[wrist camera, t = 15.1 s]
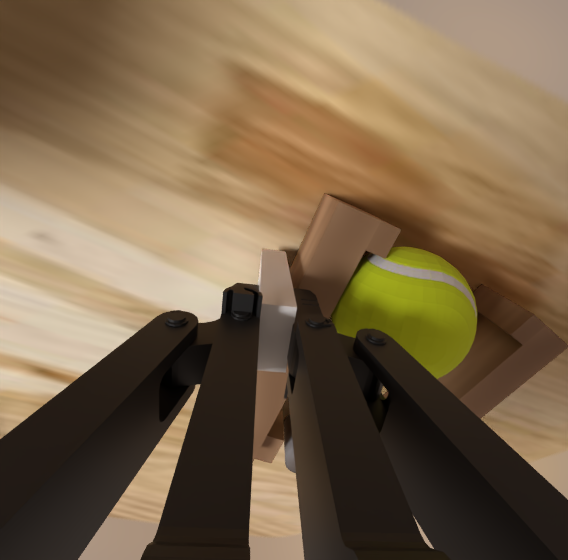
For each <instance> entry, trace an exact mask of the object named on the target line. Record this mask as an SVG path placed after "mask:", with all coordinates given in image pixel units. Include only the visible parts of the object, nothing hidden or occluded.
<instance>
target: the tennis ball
mask: <svg viewBox="0 0 568 560" xmlns="http://www.w3.org/2000/svg"><path fill="white" fill-rule="evenodd" d="M331 319H332V322H333V324H334V325H335V328H336V330H337V332H338V333H340V334H343V335H346V336H350V337H353V338H355V337H356V334H357V331H359V330H360V329H365V328H368V329H376V330H380V331H382V332H384V333H386V334H388V335H389V336H390V337H392V338H393V339H394V340H395V341H396V342H397V343H398V344H400V345H401V346H402V347H403V348H404V349H405V350H406V351H407V352H408V353H409V354H410V355H411V356H413V357H414V358H415V359H416V360H417V361H418V362H419V363H420V364H421V365H422V366H423V367H424V368H426V369H427V370H428V371H429V372H430V373H431V374H432V375H433V376H434V377H435V378H436V379H438V378H440V377H442V376H444V375H446V374H448V373H449V372H450V371H452V370H453V369H454V368H456V367H457V366H458V365H459V364H460V363H461V362H462V361H463V359H464V358H465V356H466V355H467V354H468V352H469V350H470V348H471V346H472V344H473V341H474V338H475V334H476V327H477V307H476V302H475V297H474V295H473V293H472V291H471V289H470V286H469V285H468V283H467V281H466V280H465V278H464V277H463V276H462V275H461V273H460V272H459V271H458V270H457V269H456V268H455V267H454V266H452V265H451V264H450V263H448V262H447V261H446V260H444V259H443V258H442V257H440V256H438V255H435V254H433V253H431V252H428V251H425V250H422V249H418V248H413V247H392V248H391V249H390V251H389V253H388V255H387V257H386V258H382V257H380V256H378V255H375V254H373V253H371V254H368V255H366V256H364V257H362V258H361V260H360V262H359V263H358V265H357V267H356V269H355V271H354V273H353V275H352V277H351V278H350V280H349V282H348V284H347V286H346V288H345V290H344V292H343V293H342V295H341V297H340V299H339V301H338V303H337V305H336V307H335V309H334V310H333V312H332V314H331Z"/></svg>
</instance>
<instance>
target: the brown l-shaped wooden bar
mask: <svg viewBox="0 0 568 560" xmlns="http://www.w3.org/2000/svg"><path fill="white" fill-rule="evenodd" d="M473 295H474V297H475V302H476V307H477V327H476V334H475V338H474V341H473V344H472V346H471V348H470V350H469V352H468V354H467V355H466V356H465V358H464V359H463V361H462V362H461V363H460V364H459V365H458V366H457V367H456V368H454V369H453V370H452V371H450V372H449V373H448V374H446V375H444V376H442V377H440V378H438V379H437V380H439V381H440V382H441V383H442V384H443V385H444V386H445V387H446V388H447V389H448V390H449V391H450V392H452V393H453V394H454V395H455V396H456V397H457V398H458V399H459V400H460V401H461V402H462V403H463V404H465V405H466V406H467V407H468V408H469V409H470V410H471V411H472V412H473V413H474V414H475V415H476V416H478V417H479V418H482V417H483V416H484V415H485V414H487V413H488V412H489V411H490V410H491V409H493V408H494V407H495V406H496V405H498V404H499V403H500V402H501V401H503V400H504V399H505V398H506V397H507V396H509V395H510V394H511V393H512V392H514V391H515V390H516V389H517V388H519V387H520V386H521V385H522V384H523V383H525V382H526V381H527V380H528V379H530V378H531V377H532V376H533V375H534V374H536V373H537V372H538V371H539V370H541V369H542V368H543V367H544V366H546V365H547V364H548V363H549V362H550V361H552V360H553V359H554V358H555V357H557V356H558V355H559V354H560V353H561V352H563V351H564V350H565V349H566V348H568V345H567V344H566V343H565V342H564V341H563V340H562V339H560V338H559V337H558V336H557V335H556V334H555V333H554V332H553V331H552V330H551V329H549V328H548V327H547V326H546V325H545V324H544V323H543V322H542V321H541V320H540V319H538V318H537V317H536V316H535V315H534V314H532V313H531V312H529V311H527V310H525V309H524V308H522V307H520V306H519V305H517V304H515V303H513V302H512V301H510V300H508V299H506V298H505V297H503V296H501V295H500V294H498V293H496V292H494V291H493V290H491V289H489V288H487V287H486V286H484V285H482V284H481V285H480V286H479V287H478V288H477V289H476V290H475V291H474V292H473ZM383 396H384V397H385V398H387V396H388V391H387V392H386V393H385V394H384V395H383ZM284 445H285V464H286V467H287V468H288V469H289V470H290V471H292V472H294V473H296V469H295V459H294V449H293V439H292V429H291V419H290V415H289V416H288V417H287V418H286V419H285V420H284Z"/></svg>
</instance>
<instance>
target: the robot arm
mask: <svg viewBox="0 0 568 560" xmlns="http://www.w3.org/2000/svg"><path fill="white" fill-rule="evenodd" d="M287 362H288V370H289V372H288V377H287V383H286V388H285V394H284V399H287V395H288V400H289V409H290V419H291V429H292V439H293V449H294V459H295V469H296V479H297V489H298V499H299V509H300V519H301V529H302V539H303V548H304V559H305V560H568V500H567V499H566V498H565V497H564V496H563V495H562V494H561V493H560V492H558V490H557V489H555V488H554V487H553V486H552V485H551V484H550V483H549V482H548V481H547V480H546V479H545V478H544V477H543V476H542V475H540V474H539V473H538V472H537V471H536V470H535V469H534V468H533V467H532V466H531V465H530V464H528V463H527V462H526V461H525V460H524V459H523V458H522V457H521V456H520V455H519V454H518V453H517V452H515V451H514V450H513V449H512V448H511V447H510V446H509V445H508V444H507V443H506V442H505V441H504V440H502V439H501V438H500V437H499V436H498V435H497V434H496V433H495V432H494V431H493V430H492V429H491V428H489V427H488V426H487V425H486V424H485V423H484V422H483V421H482V420H481V419H480V418H479V417H478V416H476V415H475V414H474V413H473V412H472V411H471V410H470V409H469V408H468V407H467V406H466V405H465V404H463V403H462V402H461V401H460V400H459V399H458V398H457V397H456V396H455V395H454V394H453V393H452V392H450V391H449V390H448V389H447V388H446V387H445V386H444V385H443V384H442V383H441V382H440V381H439V380H437V379H436V378H435V377H434V376H433V375H432V374H431V373H430V372H429V371H428V370H427V369H426V368H424V367H423V366H422V365H421V364H420V363H419V362H418V361H417V360H416V359H415V358H414V357H413V356H411V355H410V354H409V353H408V352H407V351H406V350H405V349H404V348H403V347H402V346H401V345H400V344H398V343H397V342H396V341H395V340H394V339H393V338H392V337H390V336H389V335H388V334H386V333H384V332H382V331H380V330H376V329H368V328H365V329H360V330H359V331H357V334H356V337H355V338H353V337H350V336H346V335H343V334H340V333H338V332H337V330H336V328H335V325H334V324H333V322H332V321H331V320H329V319H328V318H326V317H324V316H323V314H322V311H321V309H320V306H319V303H318V300H317V297H316V295H315V294H314V293H313V292H311V291H310V290H305V289H296V288H293V285H292V280H291V275H290V271H289V266H288V261H287V256H286V251H278V250H270V249H262V253H261V262H260V270H259V278H258V285H253V284H243V283H236V284H235V285H233V286H232V287H229V288H226V289H225V290H224V291H223V301H222V314H221V317H220V319H218V320H216V321H212V322H207V323H198V318H197V317H196V316H195V315H194V314H192V313H189V312H185V311H180V310H176V311H170V312H166V313H163V314H161V315H159V316H157V317H156V318H155V319H153V320H152V321H151V322H149V323H148V324H147V325H146V326H144V327H143V328H142V329H141V330H139V331H138V332H137V333H135V334H134V335H133V336H132V337H130V338H129V339H128V340H126V341H125V342H124V343H123V344H121V345H120V346H119V347H118V348H116V349H115V350H114V351H112V352H111V353H110V354H109V355H107V356H106V357H105V358H103V359H102V360H101V361H100V362H98V363H97V364H96V365H95V366H93V367H92V368H91V369H89V370H88V371H87V372H86V373H84V374H83V375H82V376H80V377H79V378H78V379H77V380H75V381H74V382H73V383H72V384H70V385H69V386H68V387H66V388H65V389H64V390H63V391H61V392H60V393H59V394H57V395H56V396H55V397H54V398H52V399H51V400H50V401H49V402H47V403H46V404H45V405H43V406H42V407H41V408H40V409H38V410H37V411H36V412H34V413H33V414H32V415H31V416H29V417H28V418H27V419H26V420H24V421H23V422H22V423H20V424H19V425H18V426H17V427H15V428H14V429H13V430H12V431H10V432H9V433H8V434H6V435H5V436H4V437H3V438H1V439H0V560H78V558H79V557H80V555H81V554H82V553H83V551H84V550H85V548H86V547H87V545H88V544H89V542H90V541H91V539H92V538H93V536H94V535H95V533H96V532H97V531H98V529H99V528H100V526H101V525H102V523H103V522H104V521H105V519H106V518H107V516H108V515H109V513H110V512H111V510H112V509H113V508H114V506H115V505H116V503H117V502H118V500H119V499H120V497H121V496H122V494H123V493H124V492H125V490H126V489H127V487H128V486H129V484H130V483H131V481H132V480H133V479H134V477H135V476H136V474H137V473H138V471H139V470H140V468H141V467H142V465H143V464H144V463H145V461H146V460H147V458H148V457H149V455H150V454H151V452H152V451H153V450H154V448H155V447H156V445H157V444H158V442H159V441H160V439H161V438H162V436H163V435H164V434H165V432H166V431H167V429H168V428H169V426H170V425H171V423H172V422H173V420H174V419H175V418H176V416H177V415H178V413H179V412H180V410H181V409H182V407H183V406H184V405H185V403H186V402H187V400H188V399H189V397H190V396H191V394H192V393H193V391H194V389H195V385H196V384H201V385H200V388H199V392H198V395H197V398H196V402H195V405H194V408H193V412H192V415H191V419H190V422H189V425H188V429H187V432H186V436H185V439H184V442H183V446H182V449H181V452H180V456H179V459H178V463H177V466H176V469H175V473H174V476H173V480H172V483H171V486H170V490H169V493H168V496H167V500H166V503H165V507H164V510H163V513H162V517H161V520H160V523H159V527H158V530H157V533H156V536H155V538H154V540H153V542H151V543H150V544H148V545H147V547H146V549H145V551H144V553H143V555H142V557H141V560H250V547H249V519H250V500H251V481H252V462H253V443H254V424H255V405H256V386H257V370H261V371H271V372H284V373H286V368H287ZM383 385H384V387H385V388H386V389H387V391H388V396H387V398H385V397H384V396H383V395H382V393H381V390H382V387H383ZM413 516H414V517H415V519H416V520H417V522H418V524H419V525H420V527H421V528H422V530H423V532H424V533H425V535H426V536H427V538H428V540H429V541H430V543H431V544H432V546H433V547H434V549H432V548H430V547H429V546H428V545H427V544H426V543H425V541H424V540H423V537H422V536H421V534H420V531H419V529H418V526H417V524H416V522H415V519H414V517H413Z"/></svg>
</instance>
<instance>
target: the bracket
mask: <svg viewBox="0 0 568 560" xmlns="http://www.w3.org/2000/svg"><path fill="white" fill-rule="evenodd" d="M400 232H401V229H399V228H397V227H395V226H393V225H391V224H389V223H387V222H386V221H384V220H382V219H380V218H378V217H376V216H374V215H372V214H370V213H367V212H365V211H363V210H361V209H358V208H356V207H354V206H352V205H350V204H347V203H345V202H343V201H341V200H339V199H336V198H334V197H332V196H330V195H328V194H325V193H324V195H323V197H322V200H321V202H320V204H319V206H318V208H317V211H316V213H315V215H314V217H313V219H312V222H311V224H310V226H309V228H308V230H307V232H306V235H305V237H304V239H303V241H302V243H301V246H300V248H299V250H298V252H297V254H296V256H295V259H294V261H293V263H292V265H291V267H290V270H289V271H290V275H291V280H292V285H293V288H296V289H305V290H310V291H311V292H313V293H314V294H315V295H316V297H317V300H318V303H319V306H320V309H321V311H322V314H323V316H324V317H326V318H328V319H329V318H330V316H331V314H332V312H333V310H334V309H335V307H336V305H337V303H338V301H339V299H340V297H341V295H342V293H343V292H344V290H345V288H346V286H347V284H348V282H349V280H350V278H351V277H352V275H353V273H354V271H355V269H356V267H357V265H358V263H359V262H360V260H361V258H362V256H363V254H364V252H365V250H366V251H368V252H371V253H373V254H375V255H378V256H380V257H382V258H386V257H387V255H388V253H389V251H390V249H391V248H392V246H393V244H394V242H395V240H396V239H397V237H398V235H399V233H400ZM288 372H289V370H288V362H287V368H286V373H284V372H271V371H261V370H257V386H256V405H255V424H254V443H253V461H254V459H257V460H261V461H265V462H268V463H272V461H273V460H274V458H275V456H276V454H277V452H278V451H279V449H280V447H281V445H282V444H283V442H284V430H283V409H281V408H282V406H283V404H284V402H285V401H286V399H284V394H285V388H286V383H287V377H288ZM287 397H288V395H287ZM252 463H253V462H252Z"/></svg>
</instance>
